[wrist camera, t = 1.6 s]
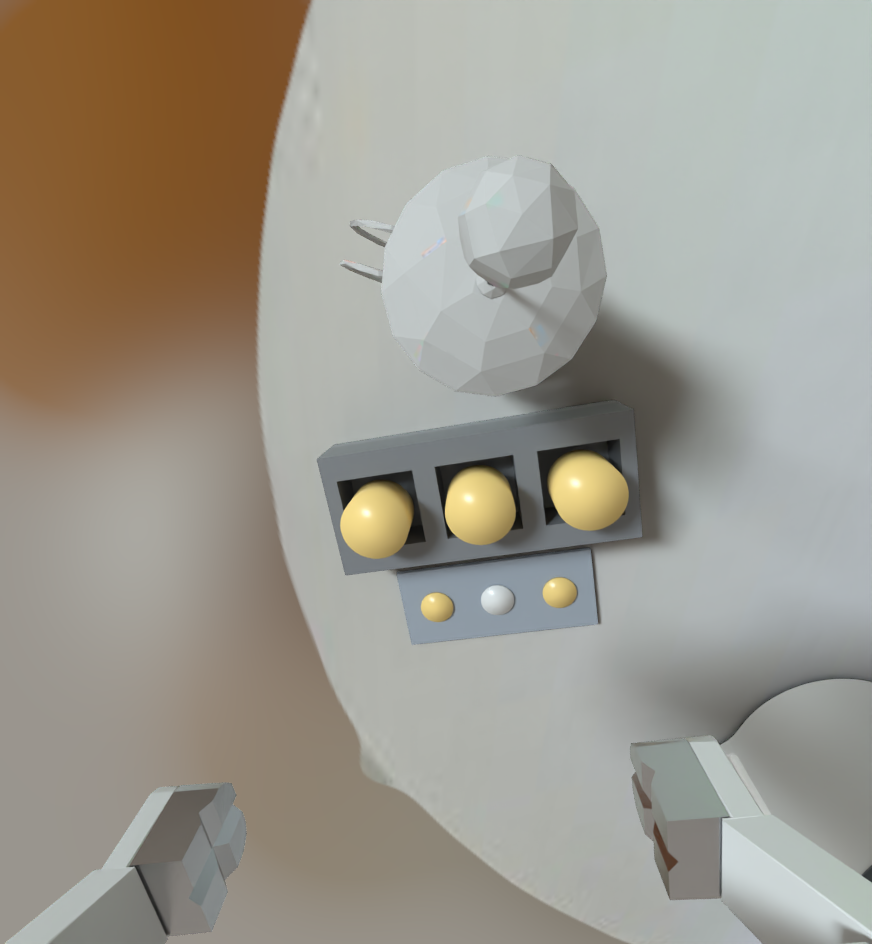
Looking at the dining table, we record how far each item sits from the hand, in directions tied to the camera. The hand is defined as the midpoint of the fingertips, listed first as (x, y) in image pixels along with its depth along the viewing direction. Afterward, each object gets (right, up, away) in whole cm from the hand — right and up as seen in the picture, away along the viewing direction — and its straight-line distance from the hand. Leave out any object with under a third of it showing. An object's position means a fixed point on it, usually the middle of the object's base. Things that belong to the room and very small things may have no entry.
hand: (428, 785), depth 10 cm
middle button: (+3, +5, +21) cm, 22 cm away
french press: (+2, +17, +21) cm, 27 cm away
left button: (-3, +4, +22) cm, 22 cm away
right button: (+9, +6, +20) cm, 23 cm away
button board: (+4, +2, +25) cm, 26 cm away
